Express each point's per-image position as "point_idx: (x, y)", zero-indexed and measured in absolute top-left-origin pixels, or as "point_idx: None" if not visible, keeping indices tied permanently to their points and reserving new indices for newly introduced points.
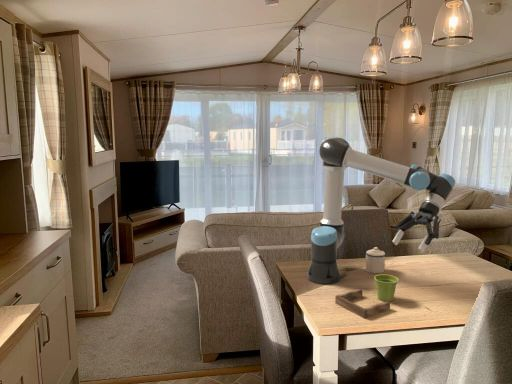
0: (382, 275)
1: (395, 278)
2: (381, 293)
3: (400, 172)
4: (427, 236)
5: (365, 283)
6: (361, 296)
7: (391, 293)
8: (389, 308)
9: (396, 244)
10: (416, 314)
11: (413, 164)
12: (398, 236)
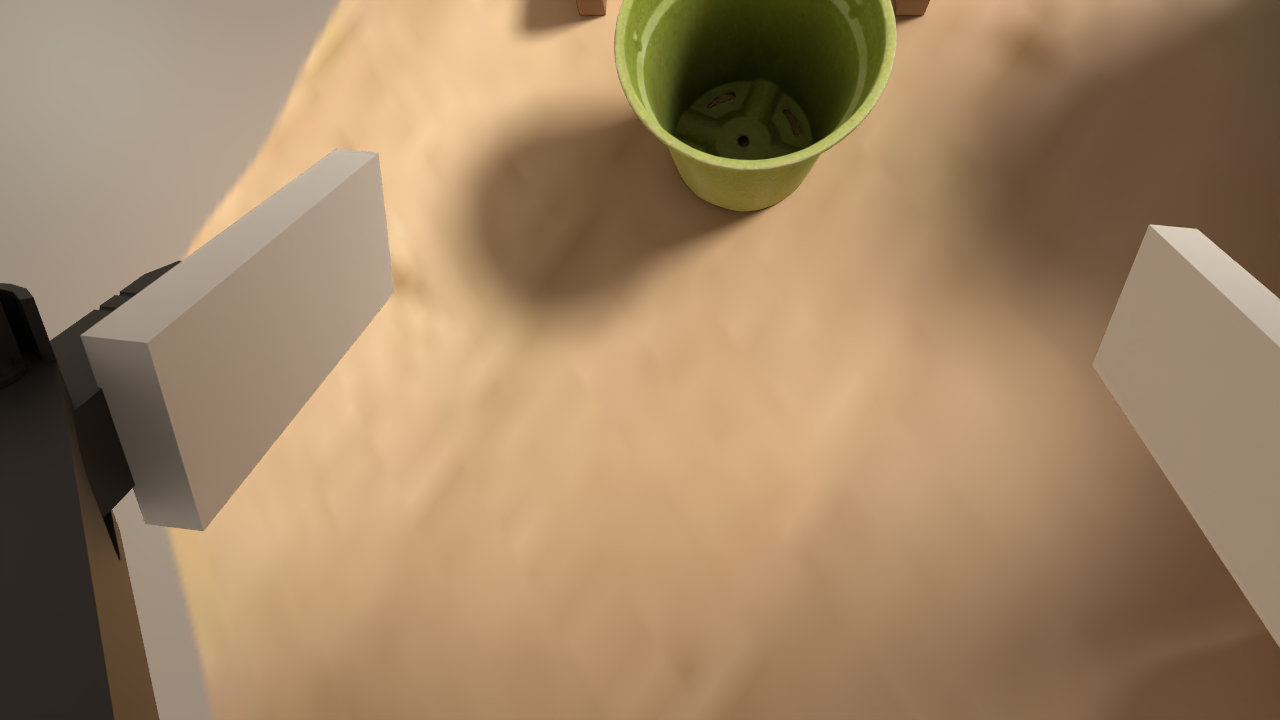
0: (864, 99)
1: (712, 157)
2: (730, 36)
3: None
4: (106, 338)
5: (1128, 273)
6: (896, 3)
7: (661, 93)
8: (578, 5)
9: (1103, 348)
10: (395, 112)
11: None
12: (1227, 380)
